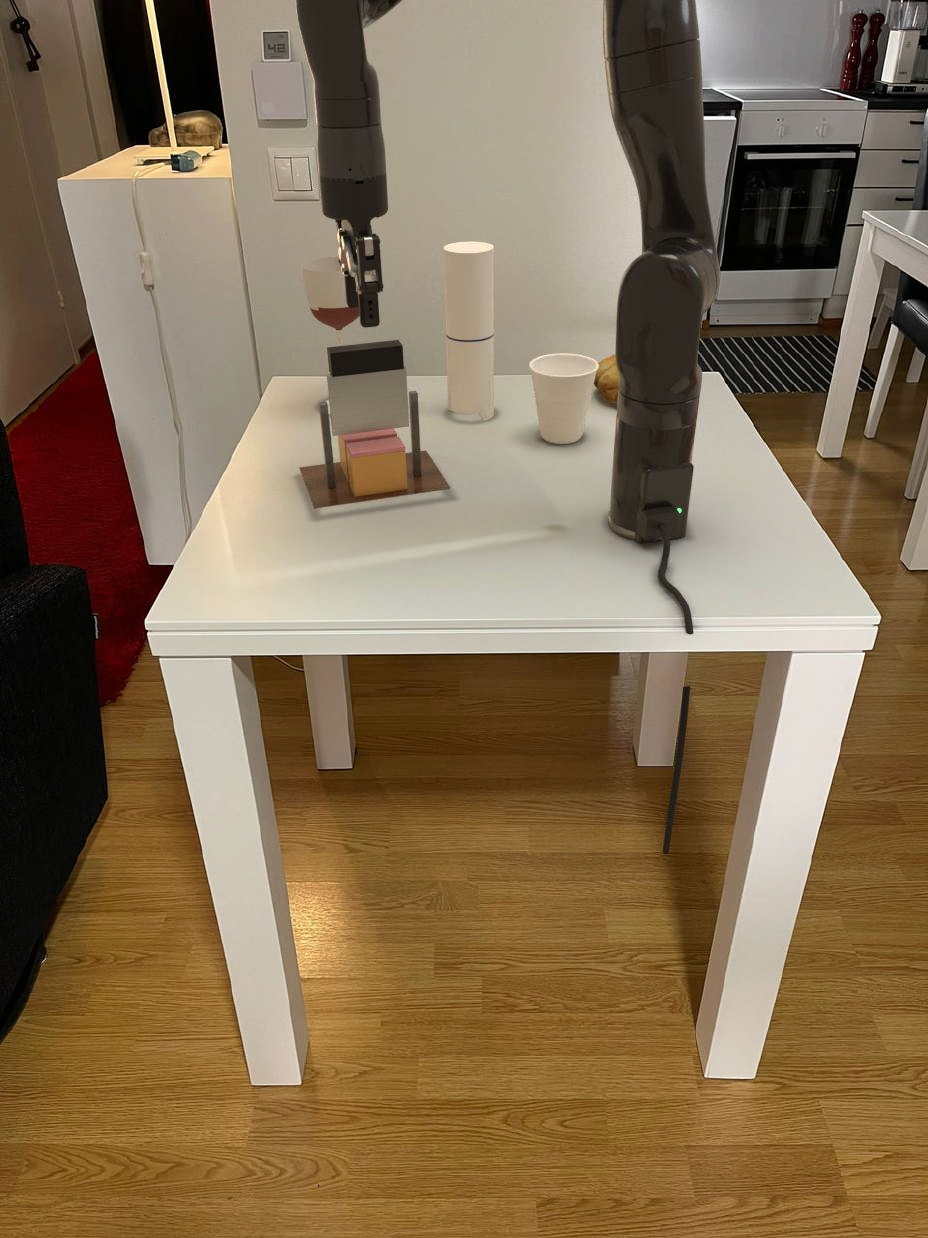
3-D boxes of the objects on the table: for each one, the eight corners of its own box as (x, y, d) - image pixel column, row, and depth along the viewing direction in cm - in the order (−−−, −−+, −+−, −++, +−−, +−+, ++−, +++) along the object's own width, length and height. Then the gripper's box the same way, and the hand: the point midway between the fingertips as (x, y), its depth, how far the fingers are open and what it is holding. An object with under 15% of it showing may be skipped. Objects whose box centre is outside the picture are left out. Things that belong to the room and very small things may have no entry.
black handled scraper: (411, 429, 125) (406, 344, 119) (334, 439, 122) (326, 353, 116) (406, 422, 127) (402, 339, 121) (331, 432, 124) (322, 347, 118)
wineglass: (310, 400, 157) (295, 260, 145) (367, 392, 160) (356, 254, 148) (323, 419, 151) (308, 273, 138) (382, 410, 153) (372, 267, 141)
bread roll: (660, 413, 150) (665, 363, 146) (597, 415, 150) (601, 364, 146) (647, 384, 161) (651, 337, 156) (588, 385, 161) (591, 338, 157)
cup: (597, 450, 139) (602, 375, 133) (528, 450, 139) (530, 376, 133) (591, 423, 147) (595, 352, 141) (526, 424, 148) (527, 353, 142)
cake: (407, 489, 126) (405, 446, 123) (354, 497, 124) (350, 453, 121) (390, 459, 134) (387, 418, 131) (340, 466, 132) (336, 424, 129)
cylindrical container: (443, 420, 149) (437, 251, 136) (454, 404, 155) (450, 240, 141) (488, 424, 148) (487, 253, 134) (498, 407, 154) (498, 242, 140)
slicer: (451, 498, 127) (449, 403, 120) (315, 518, 123) (304, 422, 116) (426, 459, 137) (422, 370, 130) (300, 477, 133) (289, 385, 126)
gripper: (308, 161, 112) (322, 303, 121) (329, 182, 101) (342, 336, 110) (372, 158, 114) (380, 297, 123) (399, 177, 103) (407, 330, 112)
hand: (362, 315), depth 116 cm, fingers open, 8 cm apart
